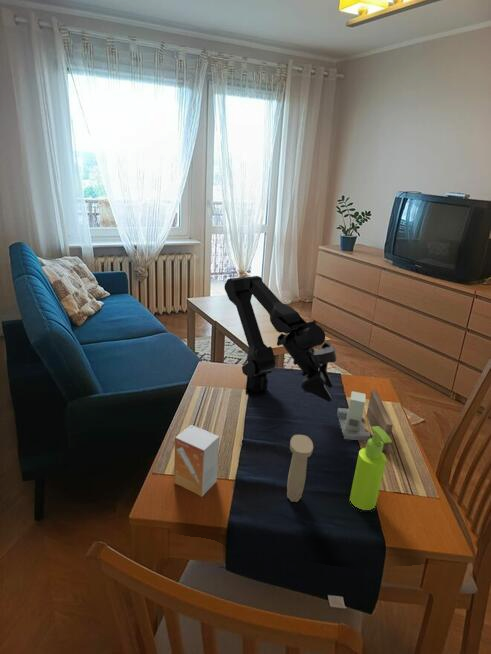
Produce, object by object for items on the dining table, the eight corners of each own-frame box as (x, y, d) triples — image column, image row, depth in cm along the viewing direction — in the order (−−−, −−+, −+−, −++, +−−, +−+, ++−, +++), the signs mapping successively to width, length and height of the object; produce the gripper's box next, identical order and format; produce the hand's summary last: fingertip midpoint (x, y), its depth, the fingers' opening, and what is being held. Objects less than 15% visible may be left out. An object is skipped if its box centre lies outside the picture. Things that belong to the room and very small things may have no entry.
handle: (302, 488, 104) (311, 435, 99) (305, 509, 98) (314, 453, 93) (282, 487, 104) (289, 433, 98) (284, 507, 98) (291, 452, 93)
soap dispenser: (359, 517, 97) (376, 442, 90) (344, 495, 103) (359, 422, 96) (383, 513, 99) (401, 438, 91) (367, 491, 105) (382, 420, 97)
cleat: (344, 439, 123) (345, 433, 123) (337, 413, 136) (338, 407, 135) (369, 442, 123) (370, 436, 123) (359, 415, 136) (360, 409, 135)
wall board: (380, 452, 119) (386, 424, 116) (366, 415, 136) (371, 390, 133) (392, 453, 119) (398, 425, 116) (376, 416, 136) (382, 391, 133)
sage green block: (344, 430, 127) (350, 400, 123) (346, 420, 132) (351, 391, 129) (358, 433, 126) (364, 403, 122) (359, 423, 131) (365, 394, 128)
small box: (173, 483, 102) (174, 437, 98) (189, 468, 108) (191, 423, 103) (201, 498, 99) (204, 450, 94) (217, 481, 104) (220, 435, 99)
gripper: (321, 348, 115) (355, 394, 117) (324, 327, 133) (354, 367, 134) (287, 369, 119) (320, 414, 121) (294, 346, 136) (323, 385, 138)
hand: (331, 393), depth 129 cm, fingers open, 9 cm apart
